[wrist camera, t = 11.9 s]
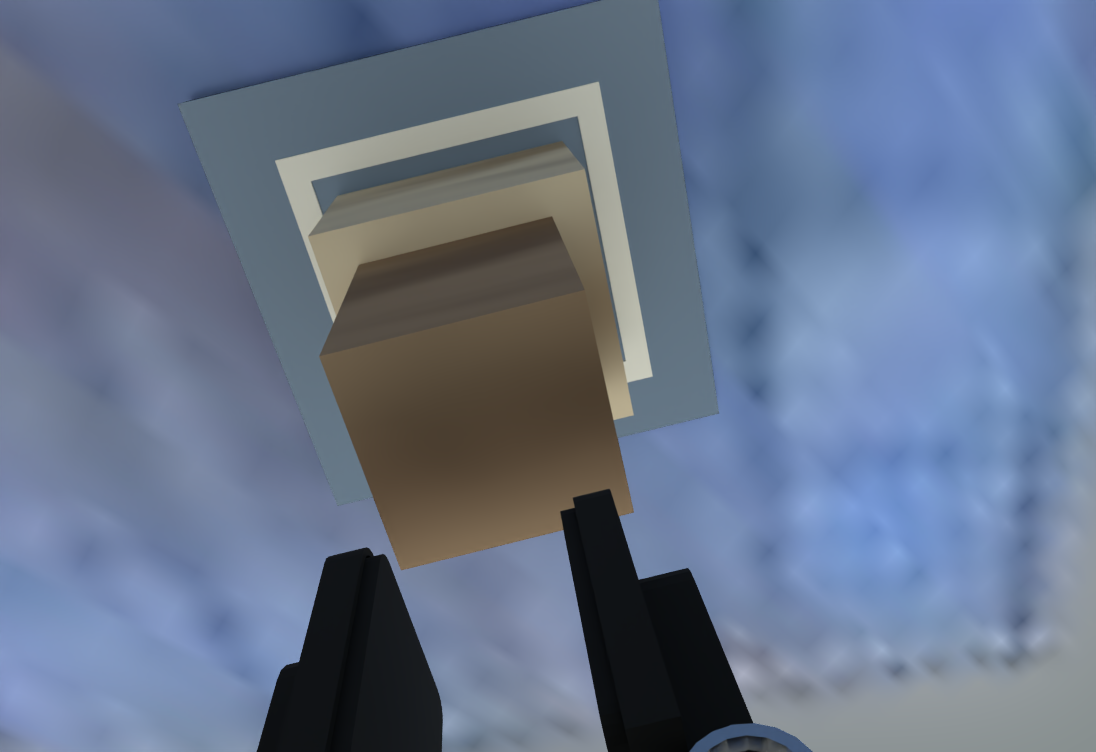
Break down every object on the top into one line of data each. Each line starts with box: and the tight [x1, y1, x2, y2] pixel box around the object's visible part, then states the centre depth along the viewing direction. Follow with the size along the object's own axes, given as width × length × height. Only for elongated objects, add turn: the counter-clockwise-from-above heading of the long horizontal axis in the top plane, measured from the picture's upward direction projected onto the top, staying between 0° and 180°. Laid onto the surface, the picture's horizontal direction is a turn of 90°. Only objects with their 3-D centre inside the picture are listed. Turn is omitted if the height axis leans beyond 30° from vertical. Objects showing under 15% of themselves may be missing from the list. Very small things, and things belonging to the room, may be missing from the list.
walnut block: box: [319, 216, 634, 570], centre depth 18 cm, size 5×5×6 cm
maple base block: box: [308, 141, 634, 420], centre depth 23 cm, size 7×7×5 cm
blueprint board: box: [178, 0, 719, 506], centre depth 26 cm, size 14×14×1 cm
